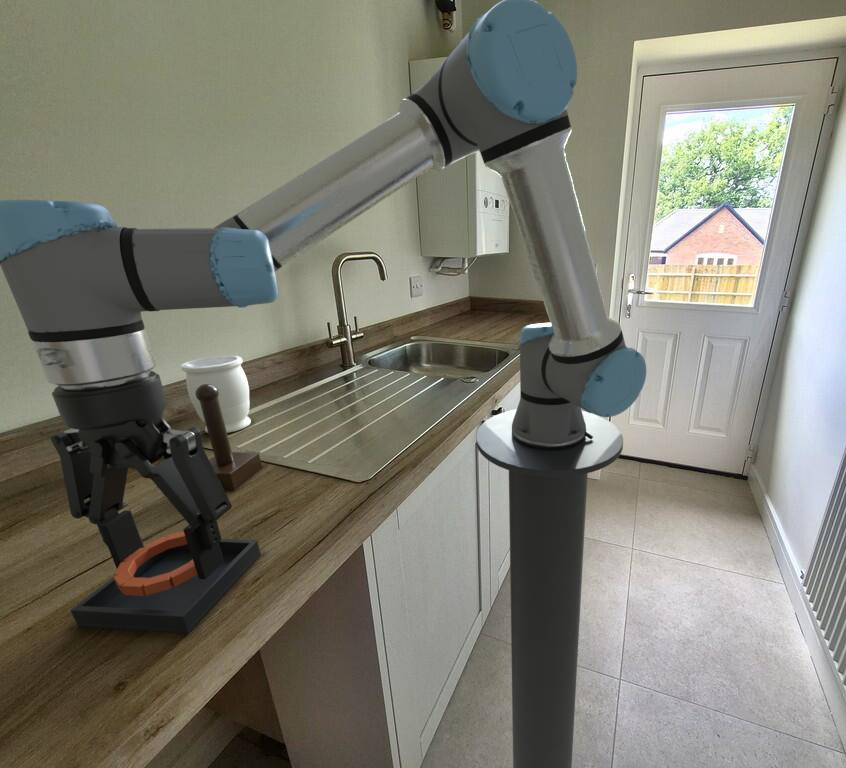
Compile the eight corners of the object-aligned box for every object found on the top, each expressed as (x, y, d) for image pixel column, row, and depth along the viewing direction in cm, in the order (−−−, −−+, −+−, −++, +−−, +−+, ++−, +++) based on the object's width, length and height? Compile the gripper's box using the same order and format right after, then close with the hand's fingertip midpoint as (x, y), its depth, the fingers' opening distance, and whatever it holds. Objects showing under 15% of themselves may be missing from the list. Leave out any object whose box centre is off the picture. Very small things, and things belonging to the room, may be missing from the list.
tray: (261, 555, 52) (257, 540, 51) (188, 633, 41) (182, 616, 41) (171, 550, 53) (166, 536, 52) (77, 627, 42) (69, 610, 41)
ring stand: (262, 467, 73) (241, 378, 67) (234, 489, 66) (208, 392, 61) (225, 466, 73) (201, 377, 68) (193, 488, 66) (164, 391, 61)
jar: (266, 417, 94) (253, 354, 90) (236, 437, 84) (219, 367, 80) (222, 417, 95) (206, 354, 90) (186, 437, 85) (166, 367, 80)
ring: (235, 539, 50) (233, 530, 49) (174, 597, 41) (170, 588, 41) (168, 536, 50) (165, 528, 50) (94, 593, 42) (90, 584, 42)
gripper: (-48, 389, 36) (47, 589, 43) (179, 392, 35) (239, 599, 42) (49, 366, 43) (117, 541, 50) (241, 367, 42) (283, 548, 49)
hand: (172, 567), depth 46 cm, fingers closed on ring, 9 cm apart
